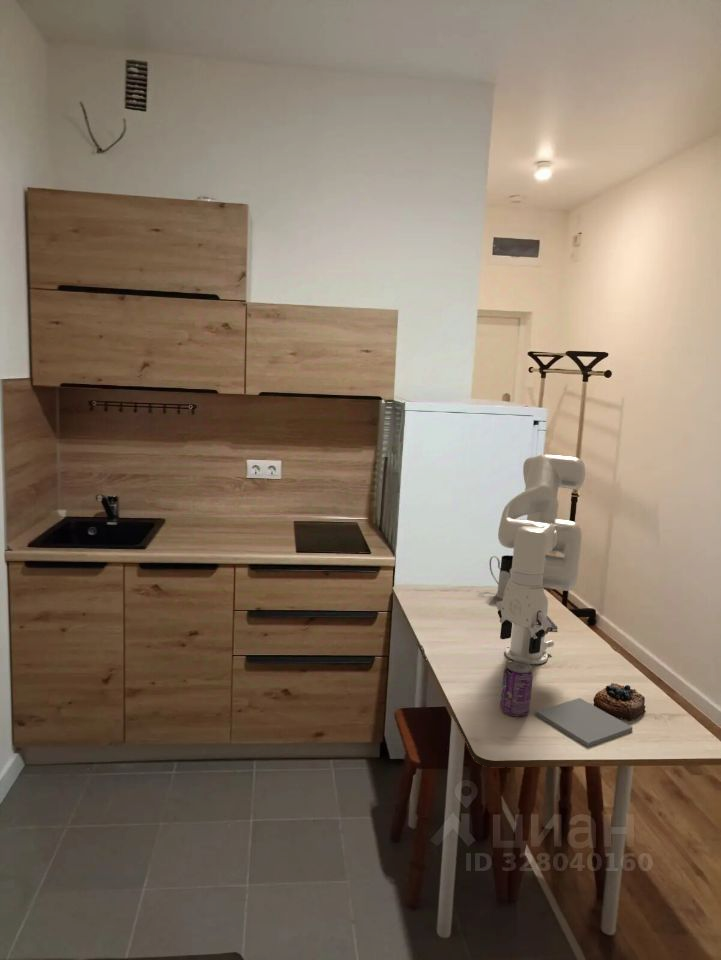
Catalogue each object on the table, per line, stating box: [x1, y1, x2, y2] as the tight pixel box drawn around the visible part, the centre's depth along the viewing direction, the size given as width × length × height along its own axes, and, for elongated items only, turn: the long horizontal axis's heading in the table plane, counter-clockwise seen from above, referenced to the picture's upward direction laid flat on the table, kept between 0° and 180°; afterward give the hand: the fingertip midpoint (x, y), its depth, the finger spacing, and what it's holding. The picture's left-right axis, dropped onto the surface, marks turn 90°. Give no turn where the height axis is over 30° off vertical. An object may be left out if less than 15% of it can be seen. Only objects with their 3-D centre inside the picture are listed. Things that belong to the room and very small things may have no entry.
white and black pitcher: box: [489, 554, 513, 600], centre depth 258 cm, size 9×14×15 cm, turn 41°
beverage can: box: [499, 660, 534, 717], centre depth 168 cm, size 7×7×12 cm
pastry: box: [592, 682, 647, 722], centre depth 174 cm, size 11×12×6 cm
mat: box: [535, 697, 634, 748], centre depth 166 cm, size 16×16×1 cm
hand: (519, 645), depth 166 cm, fingers open, 9 cm apart
